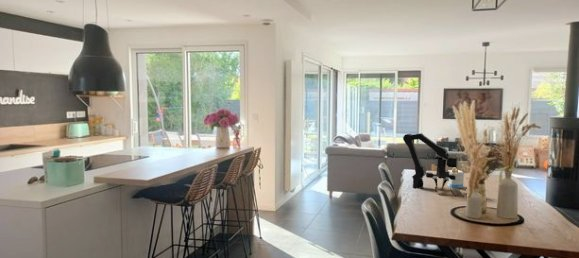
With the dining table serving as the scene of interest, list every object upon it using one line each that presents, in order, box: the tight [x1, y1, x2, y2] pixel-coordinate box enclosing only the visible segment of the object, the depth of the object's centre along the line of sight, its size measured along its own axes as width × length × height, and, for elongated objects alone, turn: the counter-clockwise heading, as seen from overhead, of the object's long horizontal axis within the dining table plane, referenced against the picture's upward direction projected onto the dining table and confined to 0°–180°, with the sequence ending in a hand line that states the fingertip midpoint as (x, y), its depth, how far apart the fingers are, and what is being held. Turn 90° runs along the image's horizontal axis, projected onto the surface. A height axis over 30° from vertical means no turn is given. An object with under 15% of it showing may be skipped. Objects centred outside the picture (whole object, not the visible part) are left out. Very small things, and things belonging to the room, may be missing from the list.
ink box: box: [447, 169, 465, 189], centre depth 292 cm, size 9×8×13 cm
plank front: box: [436, 190, 454, 197], centre depth 270 cm, size 9×7×1 cm
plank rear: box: [434, 186, 451, 192], centre depth 280 cm, size 9×7×1 cm
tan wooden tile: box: [449, 187, 464, 198], centre depth 273 cm, size 6×18×1 cm, turn 168°
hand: (439, 188), depth 281 cm, fingers closed on plank rear, 3 cm apart
